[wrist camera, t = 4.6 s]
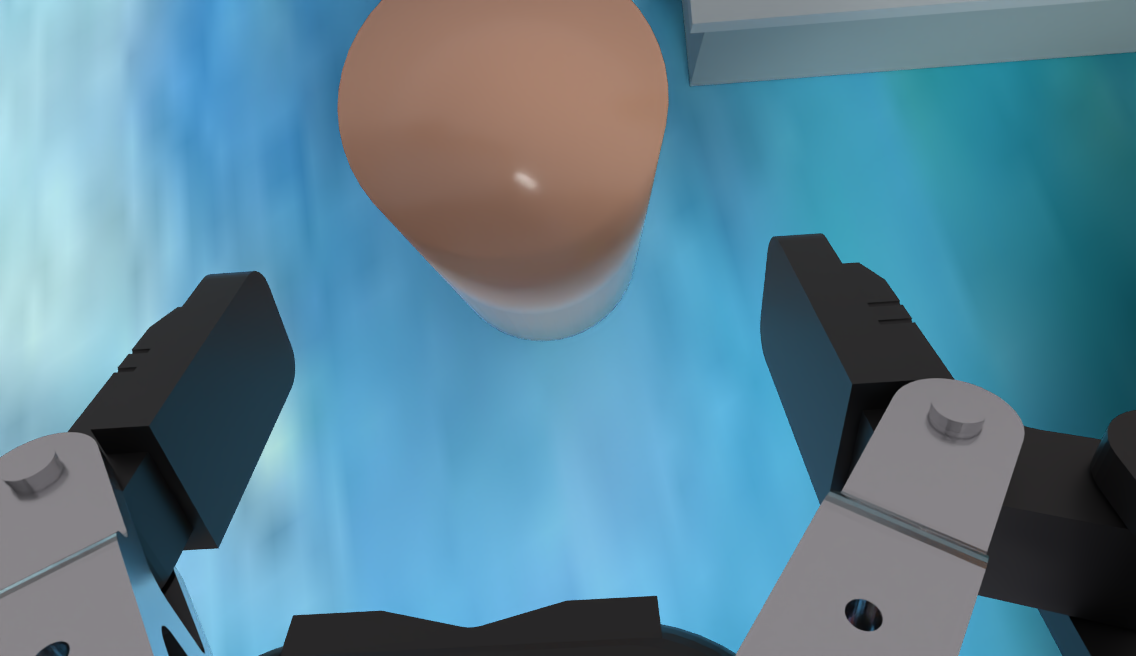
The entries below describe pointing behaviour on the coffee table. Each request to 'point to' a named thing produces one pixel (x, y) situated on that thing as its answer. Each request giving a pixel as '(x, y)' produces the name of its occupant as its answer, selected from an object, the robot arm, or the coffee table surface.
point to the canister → (511, 148)
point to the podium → (892, 35)
